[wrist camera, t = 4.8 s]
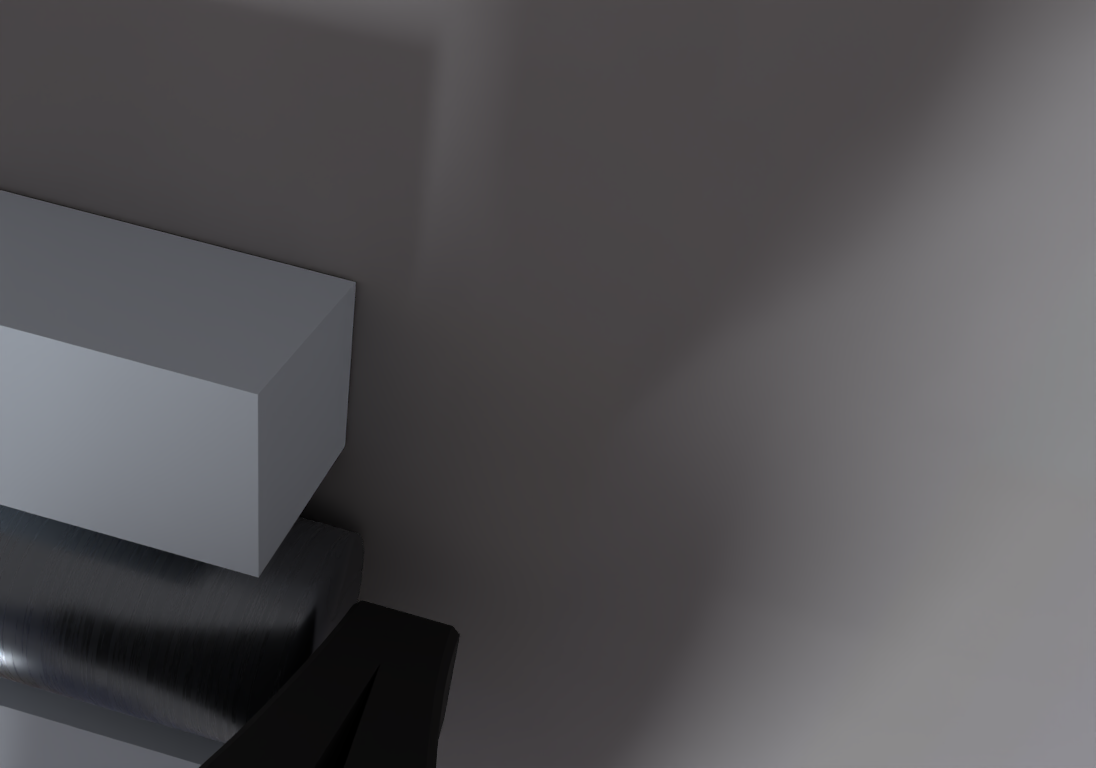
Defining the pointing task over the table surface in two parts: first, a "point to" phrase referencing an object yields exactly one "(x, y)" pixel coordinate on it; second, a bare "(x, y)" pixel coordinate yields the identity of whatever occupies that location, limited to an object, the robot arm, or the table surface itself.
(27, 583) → the axle
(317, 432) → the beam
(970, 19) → the table surface
